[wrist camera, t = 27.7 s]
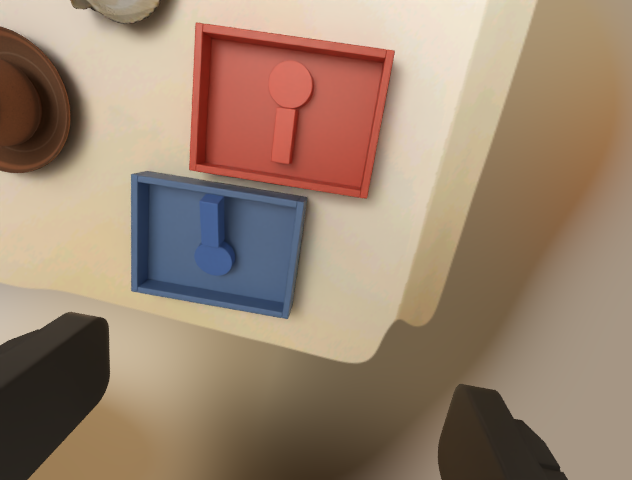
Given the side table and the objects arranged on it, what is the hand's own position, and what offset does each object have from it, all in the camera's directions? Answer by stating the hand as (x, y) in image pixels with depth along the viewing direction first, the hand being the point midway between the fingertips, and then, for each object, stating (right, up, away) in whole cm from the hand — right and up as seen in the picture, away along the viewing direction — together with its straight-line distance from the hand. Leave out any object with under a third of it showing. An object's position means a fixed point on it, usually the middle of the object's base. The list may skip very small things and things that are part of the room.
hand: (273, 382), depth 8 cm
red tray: (-1, +14, +23) cm, 27 cm away
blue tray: (-8, +3, +27) cm, 29 cm away
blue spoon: (-8, +4, +25) cm, 27 cm away
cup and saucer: (-26, +16, +25) cm, 40 cm away
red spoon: (-1, +14, +23) cm, 27 cm away
